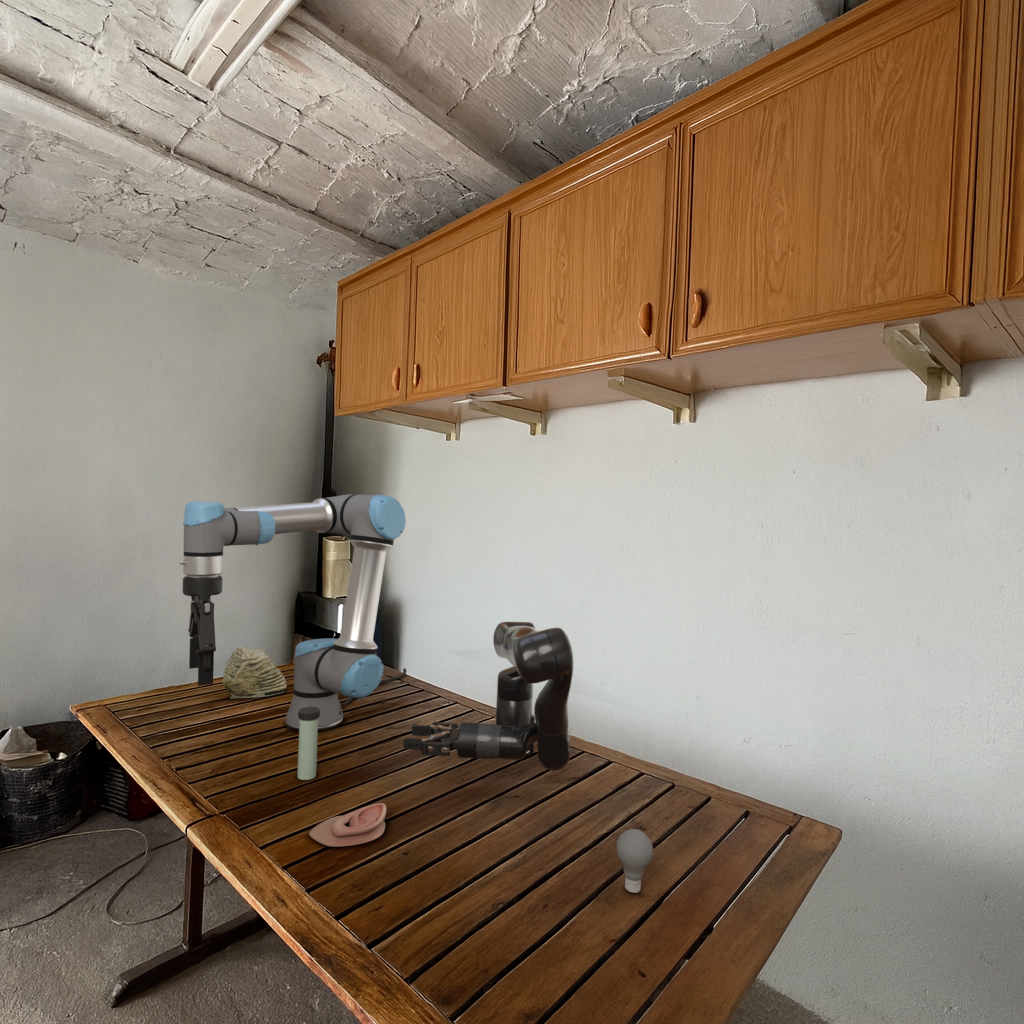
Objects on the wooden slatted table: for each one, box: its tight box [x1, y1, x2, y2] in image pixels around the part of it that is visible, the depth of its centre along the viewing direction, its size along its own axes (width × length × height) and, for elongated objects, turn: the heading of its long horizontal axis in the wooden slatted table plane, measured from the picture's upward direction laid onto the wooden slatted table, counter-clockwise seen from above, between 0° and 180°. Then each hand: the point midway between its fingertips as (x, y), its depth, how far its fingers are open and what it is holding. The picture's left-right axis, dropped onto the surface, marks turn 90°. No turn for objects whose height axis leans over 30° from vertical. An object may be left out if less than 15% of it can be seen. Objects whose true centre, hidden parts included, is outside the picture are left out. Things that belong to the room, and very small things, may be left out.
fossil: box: [222, 646, 288, 699], centre depth 198 cm, size 9×18×15 cm, turn 132°
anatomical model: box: [308, 802, 387, 848], centre depth 120 cm, size 13×4×12 cm
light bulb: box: [615, 828, 654, 894], centre depth 106 cm, size 6×6×10 cm
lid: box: [298, 707, 320, 720], centre depth 143 cm, size 5×5×2 cm
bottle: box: [296, 718, 319, 781], centre depth 143 cm, size 4×4×15 cm
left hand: (200, 675), depth 134 cm, fingers open, 13 cm apart
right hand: (408, 736), depth 142 cm, fingers open, 8 cm apart
